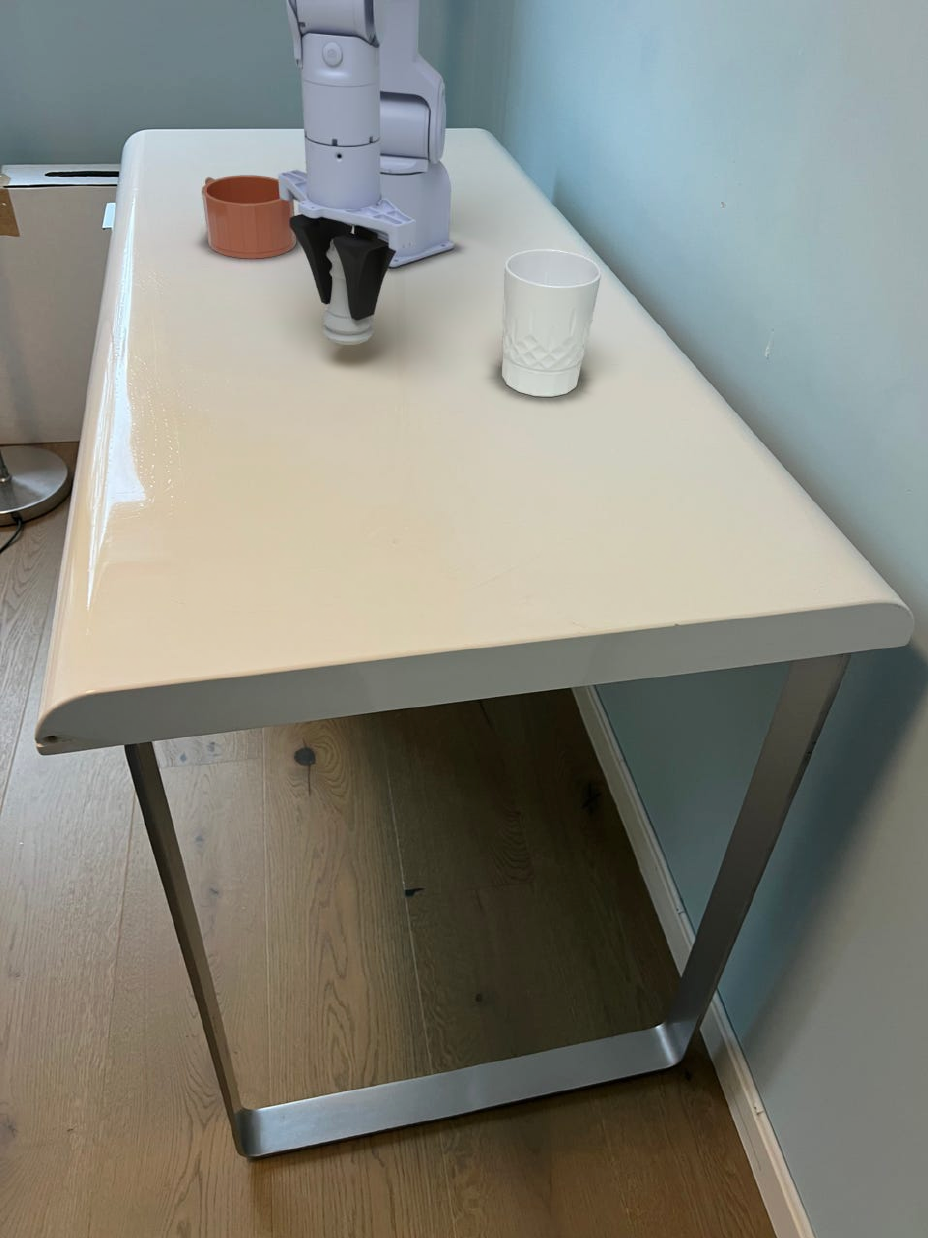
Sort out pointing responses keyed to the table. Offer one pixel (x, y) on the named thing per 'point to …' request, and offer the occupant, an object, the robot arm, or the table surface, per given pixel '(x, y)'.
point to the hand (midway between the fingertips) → (347, 308)
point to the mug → (247, 217)
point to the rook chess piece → (343, 309)
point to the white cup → (547, 319)
